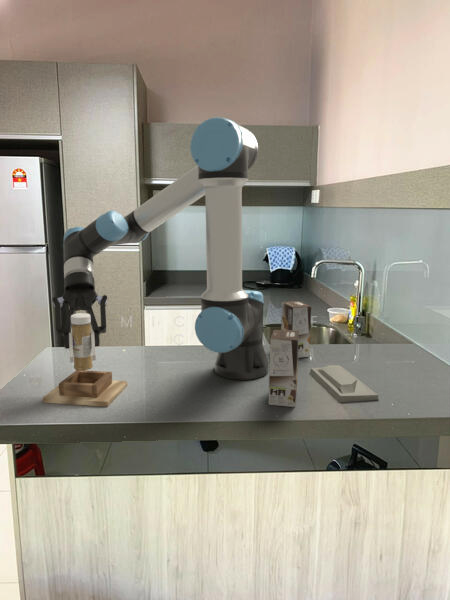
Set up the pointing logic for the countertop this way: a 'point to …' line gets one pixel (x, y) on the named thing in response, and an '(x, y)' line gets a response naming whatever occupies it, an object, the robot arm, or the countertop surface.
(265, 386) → the countertop surface
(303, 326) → the coffee box
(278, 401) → the coffee box
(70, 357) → the robot arm
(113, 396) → the socket board
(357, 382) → the soap mold
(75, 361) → the sprinkles bottle
